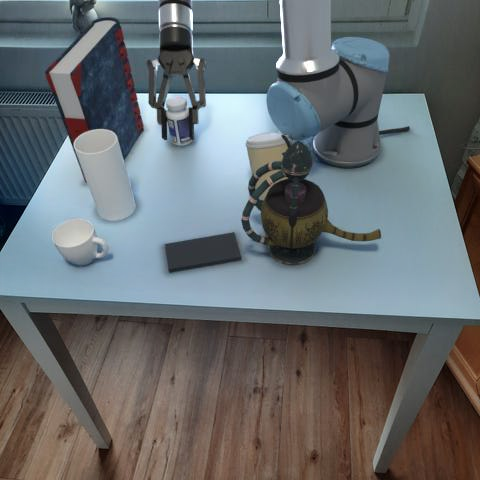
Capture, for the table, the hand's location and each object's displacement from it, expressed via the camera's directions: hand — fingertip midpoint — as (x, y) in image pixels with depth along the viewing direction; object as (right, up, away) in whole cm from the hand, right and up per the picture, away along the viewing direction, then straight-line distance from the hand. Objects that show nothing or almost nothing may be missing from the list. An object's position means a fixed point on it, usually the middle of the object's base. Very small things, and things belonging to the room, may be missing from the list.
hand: (178, 138), depth 110 cm
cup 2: (-15, -31, -18) cm, 39 cm away
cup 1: (-12, -19, -9) cm, 24 cm away
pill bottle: (0, +2, +5) cm, 6 cm away
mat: (+7, -30, -19) cm, 36 cm away
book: (-15, -2, +3) cm, 16 cm away
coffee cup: (+22, -16, -9) cm, 29 cm away
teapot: (+28, -29, -19) cm, 45 cm away
